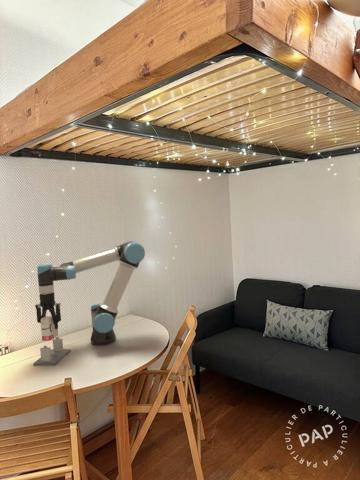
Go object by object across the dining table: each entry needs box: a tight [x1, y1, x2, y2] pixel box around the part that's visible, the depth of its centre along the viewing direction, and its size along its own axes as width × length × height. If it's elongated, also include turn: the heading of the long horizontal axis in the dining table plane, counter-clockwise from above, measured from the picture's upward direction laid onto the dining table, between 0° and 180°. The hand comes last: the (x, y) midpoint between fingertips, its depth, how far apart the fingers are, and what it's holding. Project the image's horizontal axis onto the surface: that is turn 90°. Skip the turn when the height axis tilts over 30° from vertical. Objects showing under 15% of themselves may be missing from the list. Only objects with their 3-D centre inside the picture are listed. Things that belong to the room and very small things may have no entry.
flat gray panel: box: [32, 336, 72, 366], centre depth 180 cm, size 12×18×9 cm, turn 173°
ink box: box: [40, 314, 59, 342], centre depth 180 cm, size 9×5×12 cm, turn 169°
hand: (50, 334), depth 180 cm, fingers closed on ink box, 5 cm apart
